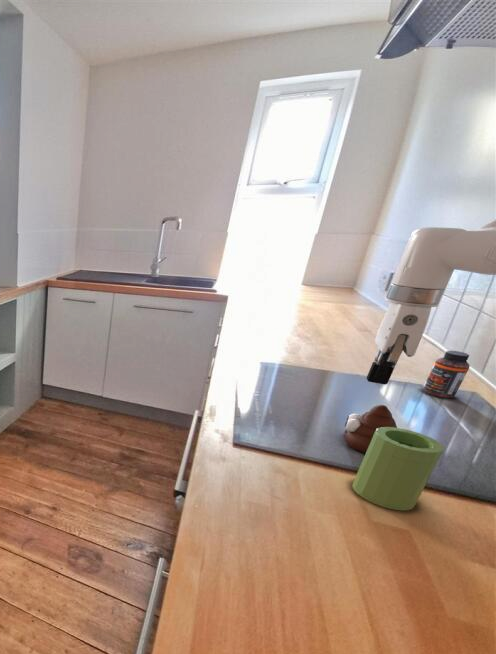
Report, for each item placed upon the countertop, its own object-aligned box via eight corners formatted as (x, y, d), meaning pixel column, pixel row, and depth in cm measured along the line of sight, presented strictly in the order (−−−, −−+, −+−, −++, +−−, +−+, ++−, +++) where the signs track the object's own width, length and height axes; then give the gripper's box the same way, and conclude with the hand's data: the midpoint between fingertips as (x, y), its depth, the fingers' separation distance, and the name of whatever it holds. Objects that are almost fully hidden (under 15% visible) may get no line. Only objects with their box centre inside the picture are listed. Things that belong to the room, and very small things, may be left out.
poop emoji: (393, 463, 78) (413, 419, 74) (336, 446, 84) (352, 405, 80) (395, 443, 85) (414, 402, 81) (342, 429, 90) (357, 390, 86)
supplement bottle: (415, 390, 108) (434, 350, 104) (430, 388, 110) (449, 347, 106) (445, 400, 103) (465, 357, 99) (460, 397, 105) (481, 355, 100)
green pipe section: (372, 477, 74) (396, 424, 70) (426, 505, 67) (456, 447, 63) (341, 485, 72) (363, 430, 68) (393, 514, 65) (422, 456, 61)
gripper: (452, 305, 72) (407, 399, 80) (430, 291, 84) (393, 374, 91) (395, 299, 76) (357, 389, 84) (381, 287, 87) (349, 367, 95)
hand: (376, 381), depth 87 cm, fingers closed
